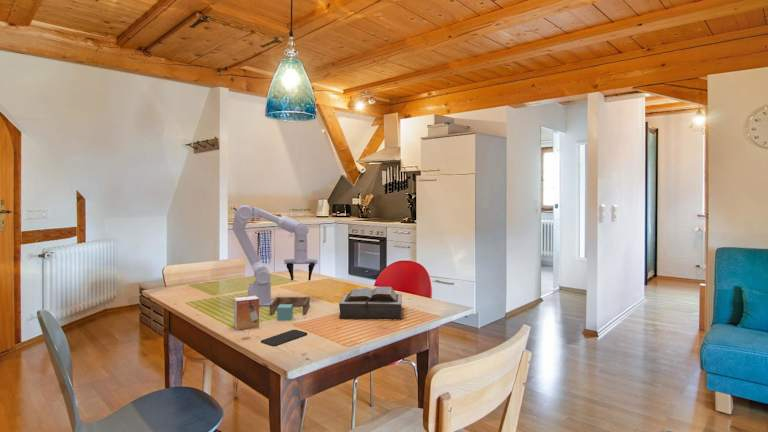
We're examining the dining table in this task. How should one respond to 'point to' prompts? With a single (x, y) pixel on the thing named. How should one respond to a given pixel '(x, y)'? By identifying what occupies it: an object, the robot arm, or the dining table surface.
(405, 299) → the dining table surface
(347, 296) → the bible
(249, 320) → the small box
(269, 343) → the phone
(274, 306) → the walnut crate
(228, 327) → the dining table surface
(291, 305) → the teal block
